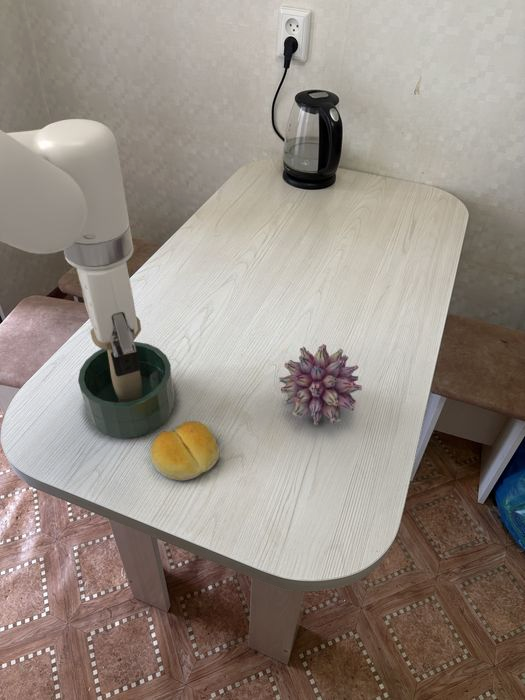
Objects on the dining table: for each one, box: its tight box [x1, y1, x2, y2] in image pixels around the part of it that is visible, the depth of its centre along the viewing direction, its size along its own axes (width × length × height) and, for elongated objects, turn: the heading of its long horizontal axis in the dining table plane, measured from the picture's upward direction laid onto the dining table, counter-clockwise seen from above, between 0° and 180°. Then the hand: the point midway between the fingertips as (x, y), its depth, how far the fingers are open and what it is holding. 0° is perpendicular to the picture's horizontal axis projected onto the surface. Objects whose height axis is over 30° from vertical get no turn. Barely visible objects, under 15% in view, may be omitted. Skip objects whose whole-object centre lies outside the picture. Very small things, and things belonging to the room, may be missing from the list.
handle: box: [90, 315, 142, 402], centre depth 70 cm, size 5×6×15 cm
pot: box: [77, 341, 175, 439], centre depth 73 cm, size 13×13×7 cm
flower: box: [278, 343, 363, 427], centre depth 73 cm, size 12×12×12 cm
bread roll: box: [150, 420, 220, 481], centre depth 68 cm, size 8×9×4 cm
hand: (121, 355), depth 69 cm, fingers open, 5 cm apart
